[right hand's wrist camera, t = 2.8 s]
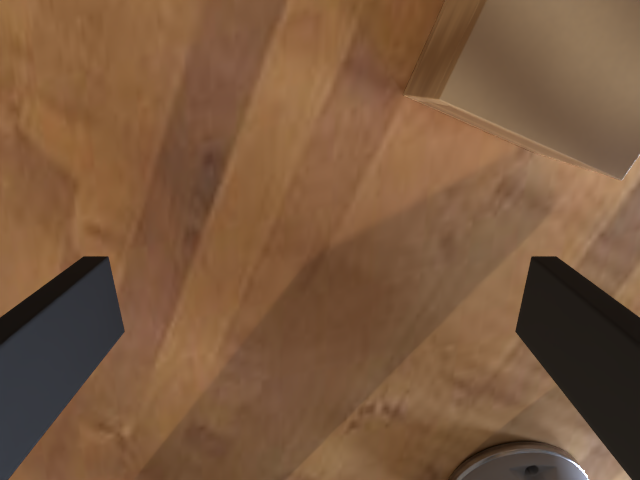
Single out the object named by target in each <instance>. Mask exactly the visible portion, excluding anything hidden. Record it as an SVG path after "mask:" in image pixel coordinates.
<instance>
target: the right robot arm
mask: <svg viewBox="0 0 640 480" xmlns="http://www.w3.org/2000/svg"><path fill="white" fill-rule="evenodd" d="M124 332H125V331H124V326H123V322H122V317H121V313H120V308H119V303H118V299H117V294H116V289H115V285H114V280H113V276H112V271H111V266H110V262H109V257H82V258H81V259H80V260H78V261H77V262H76V263H74V264H73V265H71V266H70V267H69V268H67V269H66V270H65V271H63V272H62V273H61V274H59V275H58V276H56V277H55V278H54V279H52V280H51V281H50V282H48V283H47V284H46V285H44V286H43V287H41V288H40V289H39V290H37V291H36V292H35V293H33V294H32V295H31V296H29V297H28V298H26V299H25V300H24V301H22V302H21V303H20V304H18V305H17V306H16V307H14V308H13V309H11V310H10V311H9V312H7V313H6V314H5V315H3V316H2V317H0V480H8V479H9V478H10V477H11V475H12V474H13V473H14V471H15V470H16V469H17V468H18V466H19V465H20V464H21V463H22V461H23V460H24V459H25V457H26V456H27V455H28V454H29V452H30V451H31V450H32V449H33V447H34V446H35V445H36V443H37V442H38V441H39V440H40V438H41V437H42V436H43V435H44V433H45V432H46V431H47V430H48V428H49V427H50V426H51V424H52V423H53V422H54V421H55V419H56V418H57V417H58V416H59V414H60V413H61V412H62V410H63V409H64V408H65V407H66V405H67V404H68V403H69V402H70V400H71V399H72V398H73V396H74V395H75V394H76V393H77V391H78V390H79V389H80V388H81V386H82V385H83V384H84V383H85V381H86V380H87V379H88V377H89V376H90V375H91V374H92V372H93V371H94V370H95V369H96V367H97V366H98V365H99V363H100V362H101V361H102V360H103V358H104V357H105V356H106V355H107V353H108V352H109V351H110V349H111V348H112V347H113V346H114V344H115V343H116V342H117V341H118V339H119V338H120V337H121V335H122V334H123V333H124ZM515 332H516V333H517V334H518V335H519V337H520V338H521V339H522V341H523V342H524V343H525V344H526V346H527V347H528V348H529V349H530V351H531V352H532V353H533V355H534V356H535V357H536V358H537V360H538V361H539V362H540V363H541V365H542V366H543V367H544V369H545V370H546V371H547V372H548V374H549V375H550V376H551V377H552V379H553V380H554V381H555V383H556V384H557V385H558V386H559V388H560V389H561V390H562V391H563V393H564V394H565V395H566V396H567V398H568V399H569V400H570V402H571V403H572V404H573V405H574V407H575V408H576V409H577V410H578V412H579V413H580V414H581V416H582V417H583V418H584V419H585V421H586V422H587V423H588V424H589V426H590V427H591V428H592V430H593V431H594V432H595V433H596V435H597V436H598V437H599V438H600V440H601V441H602V442H603V443H604V445H605V446H606V447H607V449H608V450H609V451H610V452H611V454H612V455H613V456H614V457H615V459H616V460H617V461H618V463H619V464H620V465H621V466H622V468H623V469H624V470H625V471H626V473H627V474H628V475H629V477H630V478H631V479H632V480H640V317H638V316H637V315H635V314H634V313H633V312H631V311H630V310H629V309H627V308H626V307H624V306H623V305H622V304H620V303H619V302H618V301H616V300H615V299H614V298H612V297H611V296H609V295H608V294H607V293H605V292H604V291H603V290H601V289H600V288H599V287H597V286H596V285H594V284H593V283H592V282H590V281H589V280H588V279H586V278H585V277H584V276H582V275H581V274H579V273H578V272H577V271H575V270H574V269H573V268H571V267H570V266H569V265H567V264H566V263H564V262H563V261H562V260H560V259H559V258H558V257H531V262H530V266H529V271H528V276H527V280H526V285H525V289H524V294H523V299H522V303H521V308H520V313H519V317H518V322H517V326H516V331H515ZM449 480H589V479H588V477H587V475H586V474H585V472H584V471H583V469H582V468H581V467H580V465H579V464H578V462H577V461H576V460H575V459H574V458H573V457H572V456H571V455H570V454H568V453H567V452H565V451H564V450H562V449H560V448H557V447H555V446H552V445H549V444H544V443H538V442H513V443H507V444H502V445H498V446H495V447H491V448H489V449H486V450H484V451H482V452H479V453H478V454H476V455H474V456H472V457H471V458H469V459H468V460H466V461H465V462H464V463H462V464H461V465H460V466H459V467H458V468H457V469H456V470H455V471H454V472H453V474H452V475H451V476H450V478H449Z"/></svg>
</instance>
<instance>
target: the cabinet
mask: <svg viewBox="0 0 640 480" xmlns="http://www.w3.org/2000/svg"><path fill="white" fill-rule="evenodd" d="M403 95H404V96H406V97H408V98H410V99H412V100H415V101H417V102H419V103H422V104H424V105H426V106H428V107H431V108H433V109H435V110H437V111H440V112H442V113H444V114H447V115H449V116H451V117H453V118H456V119H458V120H460V121H463V122H465V123H467V124H469V125H472V126H474V127H476V128H479V129H481V130H483V131H485V132H488V133H490V134H492V135H495V136H497V137H499V138H501V139H504V140H506V141H508V142H511V143H513V144H515V145H517V146H520V147H522V148H524V149H526V150H529V151H531V152H533V153H536V154H539V155H542V156H545V157H548V158H552V159H555V160H558V161H561V162H564V163H567V164H571V165H574V166H577V167H580V168H583V169H586V170H589V171H593V172H596V173H599V174H602V175H605V176H609V177H611V178H615V179H618V180H623V178H624V177H625V175H626V174H627V172H628V171H629V170H630V168H631V167H632V165H633V164H634V162H635V161H636V159H637V158H638V156H639V155H640V0H445V2H444V4H443V6H442V8H441V11H440V13H439V15H438V17H437V20H436V22H435V24H434V26H433V28H432V31H431V33H430V35H429V37H428V40H427V42H426V44H425V46H424V49H423V51H422V53H421V55H420V58H419V60H418V62H417V64H416V67H415V69H414V71H413V73H412V76H411V78H410V80H409V82H408V84H407V87H406V89H405V91H404V93H403Z"/></svg>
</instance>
